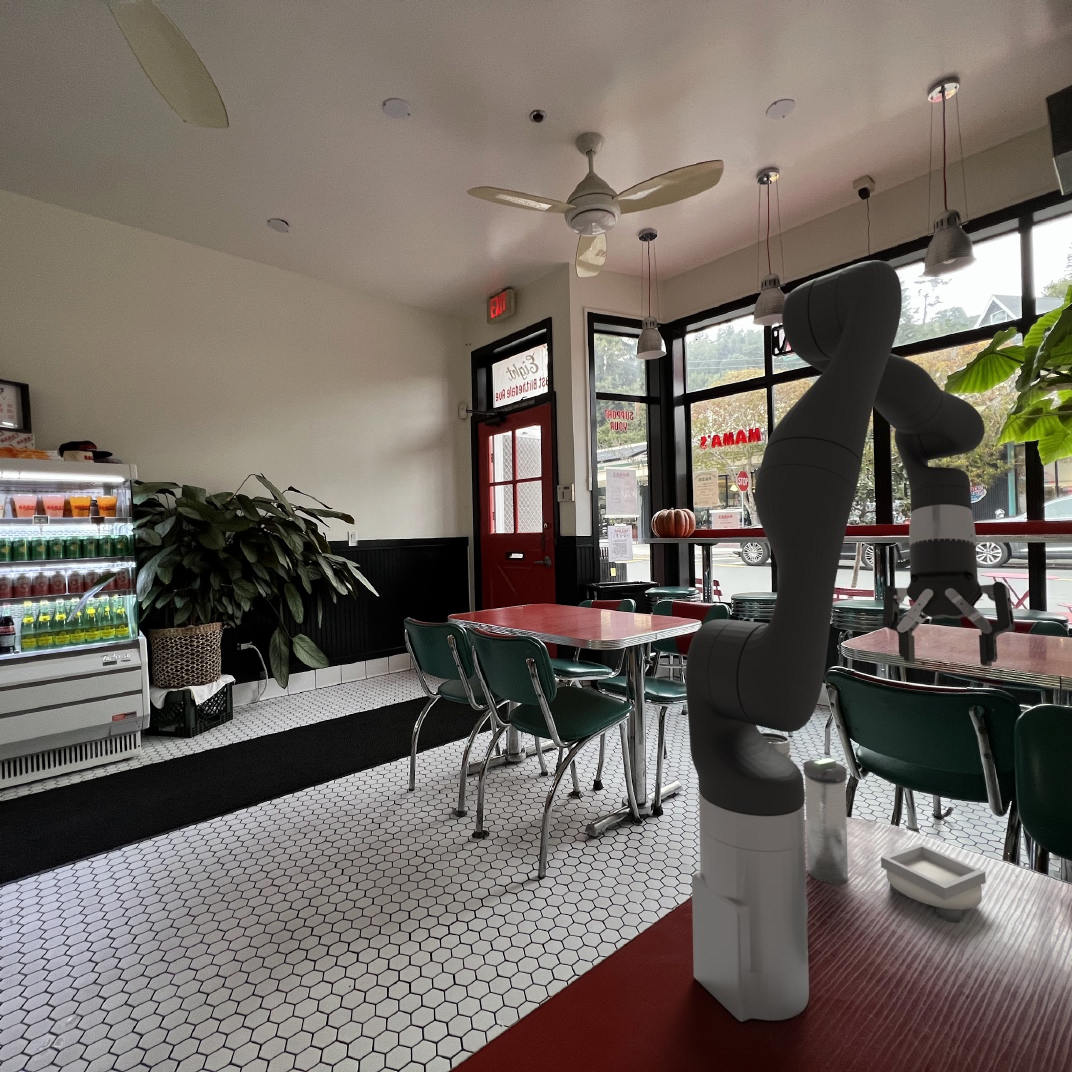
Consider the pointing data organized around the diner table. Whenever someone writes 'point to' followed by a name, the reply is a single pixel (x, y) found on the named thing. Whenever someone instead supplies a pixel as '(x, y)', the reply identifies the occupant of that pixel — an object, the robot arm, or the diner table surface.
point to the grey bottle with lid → (826, 820)
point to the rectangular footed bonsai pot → (934, 880)
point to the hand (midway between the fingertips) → (946, 663)
